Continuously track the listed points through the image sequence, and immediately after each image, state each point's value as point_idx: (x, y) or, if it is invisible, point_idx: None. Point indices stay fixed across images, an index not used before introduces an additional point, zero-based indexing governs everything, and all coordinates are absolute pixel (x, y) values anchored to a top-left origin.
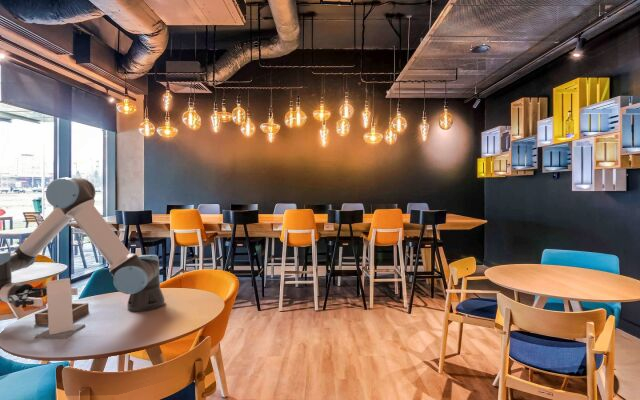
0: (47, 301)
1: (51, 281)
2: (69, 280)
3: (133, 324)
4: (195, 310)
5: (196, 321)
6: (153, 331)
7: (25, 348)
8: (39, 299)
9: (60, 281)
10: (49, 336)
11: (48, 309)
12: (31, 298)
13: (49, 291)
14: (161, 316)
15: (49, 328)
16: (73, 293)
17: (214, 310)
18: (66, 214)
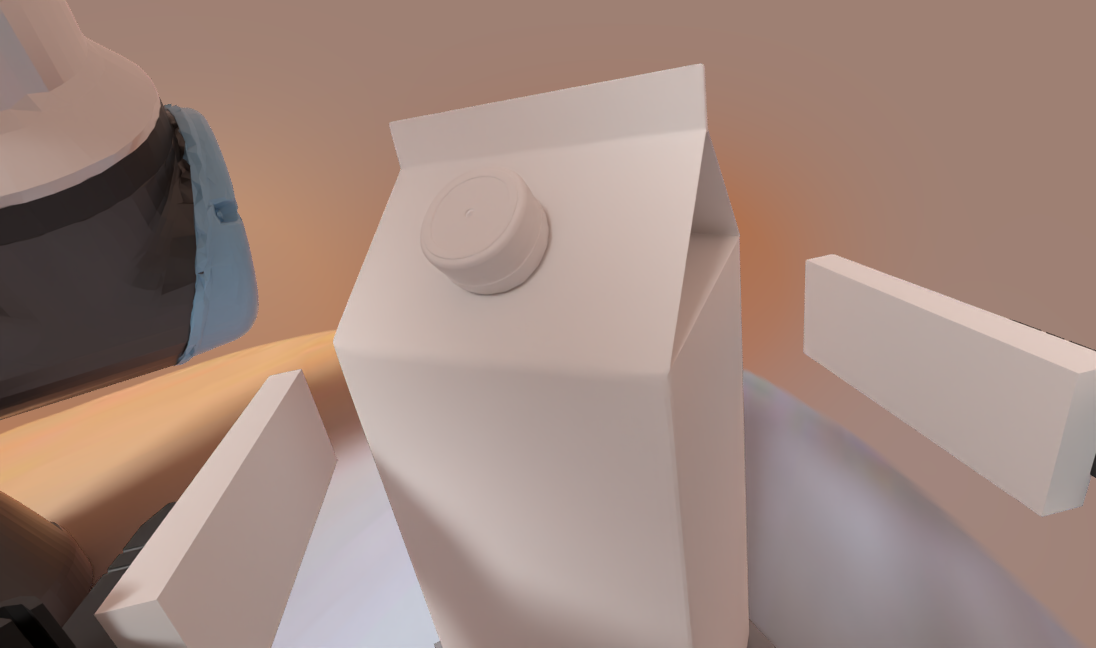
0: (717, 440)
1: (623, 94)
2: (408, 160)
3: (364, 444)
4: (177, 402)
5: (321, 341)
6: None
7: (956, 582)
8: (845, 264)
9: (504, 140)
10: (754, 628)
11: (742, 418)
12: (983, 314)
13: (705, 216)
14: None
15: (747, 587)
16: (317, 470)
17: (198, 368)
18: None
